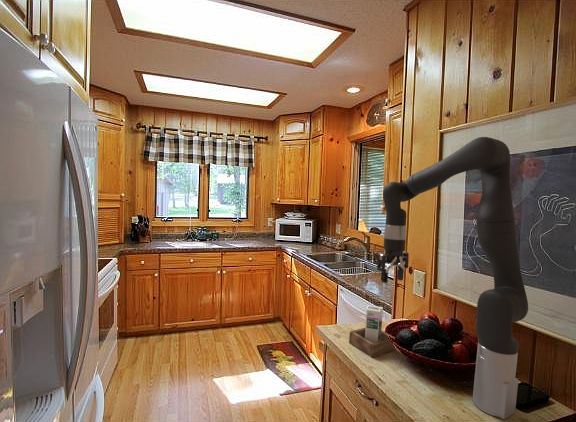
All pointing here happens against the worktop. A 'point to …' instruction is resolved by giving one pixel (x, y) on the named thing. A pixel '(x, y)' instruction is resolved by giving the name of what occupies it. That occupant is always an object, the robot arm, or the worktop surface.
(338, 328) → the worktop surface
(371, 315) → the syrup box
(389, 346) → the brown square open box
